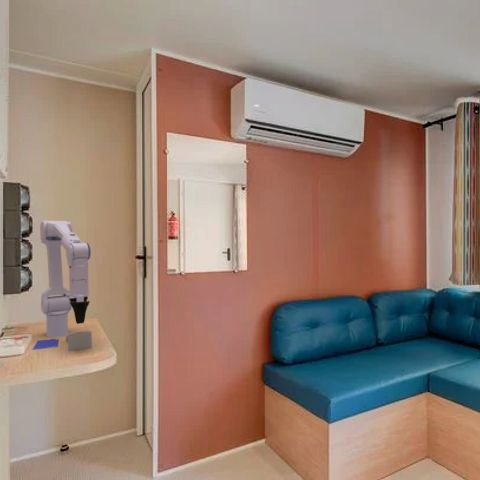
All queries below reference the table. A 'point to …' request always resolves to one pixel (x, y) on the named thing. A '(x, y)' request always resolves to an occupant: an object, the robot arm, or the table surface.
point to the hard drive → (46, 344)
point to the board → (79, 340)
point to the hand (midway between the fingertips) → (79, 321)
